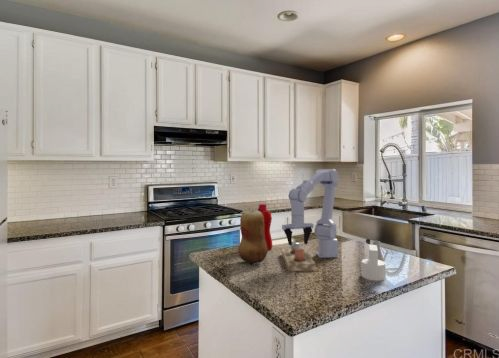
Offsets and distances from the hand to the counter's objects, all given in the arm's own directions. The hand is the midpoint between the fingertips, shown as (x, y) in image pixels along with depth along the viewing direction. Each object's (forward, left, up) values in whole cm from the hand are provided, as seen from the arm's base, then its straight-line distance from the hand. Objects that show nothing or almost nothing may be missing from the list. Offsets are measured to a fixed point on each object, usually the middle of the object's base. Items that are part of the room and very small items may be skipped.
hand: (297, 244), depth 138 cm
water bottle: (+15, -29, -10) cm, 35 cm away
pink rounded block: (-1, +1, -7) cm, 7 cm away
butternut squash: (+20, -4, -10) cm, 23 cm away
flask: (-38, -3, -10) cm, 39 cm away
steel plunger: (-1, -11, -7) cm, 13 cm away
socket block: (-1, -5, -10) cm, 11 cm away
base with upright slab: (-29, +15, -10) cm, 34 cm away
